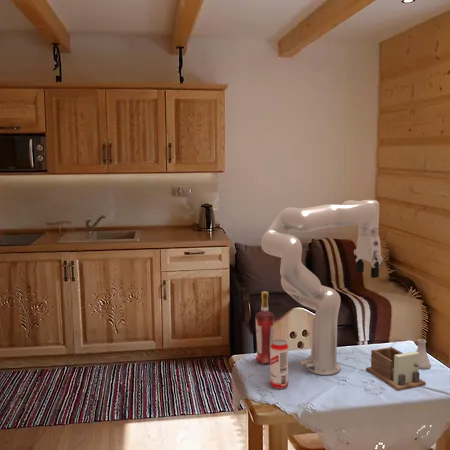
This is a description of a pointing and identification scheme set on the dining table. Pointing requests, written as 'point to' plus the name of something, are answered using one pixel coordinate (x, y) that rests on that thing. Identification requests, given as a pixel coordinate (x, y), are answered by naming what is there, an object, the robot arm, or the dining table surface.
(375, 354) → the cabinet
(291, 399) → the dining table surface
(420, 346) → the flask
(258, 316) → the liquor
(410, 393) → the dining table surface
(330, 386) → the dining table surface
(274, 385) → the beer can
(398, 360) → the block
